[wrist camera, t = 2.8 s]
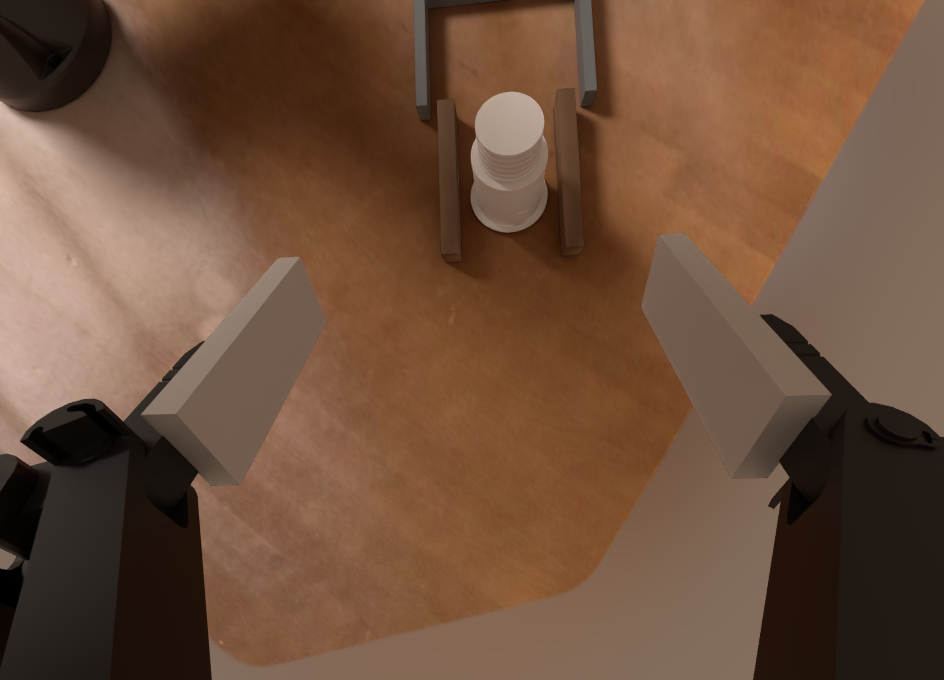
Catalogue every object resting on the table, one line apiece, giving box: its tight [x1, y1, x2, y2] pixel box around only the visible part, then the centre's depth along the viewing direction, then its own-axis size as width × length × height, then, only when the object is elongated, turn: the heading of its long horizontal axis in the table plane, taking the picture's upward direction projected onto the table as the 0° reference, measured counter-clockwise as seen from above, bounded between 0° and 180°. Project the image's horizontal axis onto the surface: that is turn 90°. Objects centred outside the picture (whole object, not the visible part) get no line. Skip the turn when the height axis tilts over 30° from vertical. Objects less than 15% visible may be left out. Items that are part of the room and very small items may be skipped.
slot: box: [437, 88, 584, 263], centre depth 34 cm, size 12×14×2 cm
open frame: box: [414, 0, 597, 120], centre depth 35 cm, size 16×12×2 cm
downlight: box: [471, 92, 548, 233], centre depth 30 cm, size 8×7×10 cm
